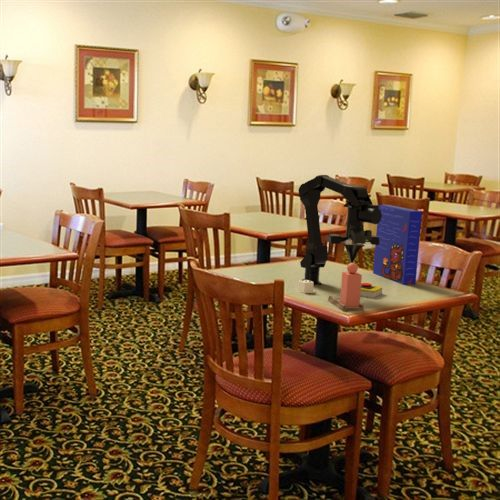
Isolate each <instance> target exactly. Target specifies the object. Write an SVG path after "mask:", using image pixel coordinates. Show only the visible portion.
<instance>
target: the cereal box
mask: <svg viewBox="0 0 500 500" xmlns="http://www.w3.org/2000/svg"><path fill="white" fill-rule="evenodd" d="M378 206H379V208H378V209H380V211H381V214H382V218H381V221H380V222H379V223H378V224H376V231H375V233H376V234H375V236H377V237H379V238H380V245H374V246H375V247H374V256H373V268H372V269H373V270H372V274H373V275H377V276H379V277H381V278H384V279H387V280H389V281H392V282H395V283H398V284H401V285H403V286H406V285H416V281H417V271H418V260H419V249H420V241H421V240H420V238H421V230H422V219H423V218H422V217H423V211H420V210H417V209H416V210H415V209H411V208H407V207H401V206H396V205H391V204H379V205H378Z"/></svg>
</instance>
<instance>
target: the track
mask: <svg viewBox="0 0 500 500" xmlns="http://www.w3.org/2000/svg"><path fill="white" fill-rule="evenodd" d="M327 302H329V303H331V304H332V305H333V306H335V307H336V308H337V309H339V310H341V312H358V311H359V312H360V311H364V310H365V309H364V305H363V304H362V303H360V304H359V306H358V307H346V306H345V305H344V304H342V303H341V302H340V297H333V296H331V295H328V297H327Z"/></svg>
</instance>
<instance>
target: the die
mask: <svg viewBox="0 0 500 500" xmlns="http://www.w3.org/2000/svg"><path fill="white" fill-rule="evenodd" d="M314 285H315V284H314V282H312V281H309V280H302V279H301V280H300V279H299V280H298V287H297V289H298V290H299V292H300V291H301V292H300V293H302V292H303V293H302V294H308V293H309V294H310V293H311V292H312V293H314ZM298 290H297V291H298ZM312 293H311V294H312Z"/></svg>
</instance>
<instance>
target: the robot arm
mask: <svg viewBox="0 0 500 500" xmlns="http://www.w3.org/2000/svg"><path fill="white" fill-rule="evenodd" d="M326 189H328V190H331V191H333V192H336V193H337V194H340V195H341V196H342V198H343V199H345V200H346V201H347V202H346V203H345V204H343V207H344V208H347V217H346V222H345V225H346V227H345V228H346V229H345V234H344V236H342V235H339V234H338V233H329V234H328V235H327V237H326V242H327V243H329V244H331V245H332V244H333V245H340V244H341V245H342V246H343V247H345V250H346V253H347V255H348V259H349V262H350V263H355V259H356V257H357V255H358V253H359V251H360V249H361V248H362V247H366V245H365V244H366V243H370V245H374V246H375V245H380V238H379V237H377V236H376V234H373V233H372V232H373V231H372V230H371V229H366V230H365V229H364V224H363V223H367V224H372V225H377V224H378V223H379V222H380V221H381V218H382V214H381V211H380V209H378V208H379V205H378V204H373V202H372V200H371V197H370V195H369V193H368V189H367V188H366V187H365V186H362V185H355V184H350V183H349V184H348V183H346V182H343V181H341V180H338V179H335V178H333V177H331V176H329V175H328V174H318V175H315V177H313V178H311V179H309V180H308V181H306V182H304V183H301V184H300V186H299V187H298V194H299V195H298V196H299V200H300V202H301V203H302V205H303V206H304V210H305V211H304V212H305V219H306V220H305V221H306V227H307V229H306V230H307V238H308V244H307V246H306V248H305V256H304V257H303V258H302V259H301V261H299V264H300V268H303V269H304V278H302V279H301V280H309V281H312V282H314V285H321V284H322V282H321V281H320V268H325V265H326V263H327V261H328V259H329V255H330V254H329V252H328V250H329V249H328V248H329V247H328V245H327V244H324V243H323V242H322V237H321V236H322V235H321V225H320V216H319V207H318V205H319V202H320V200H321V195H322V194H321V193H323V191H326Z"/></svg>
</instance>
